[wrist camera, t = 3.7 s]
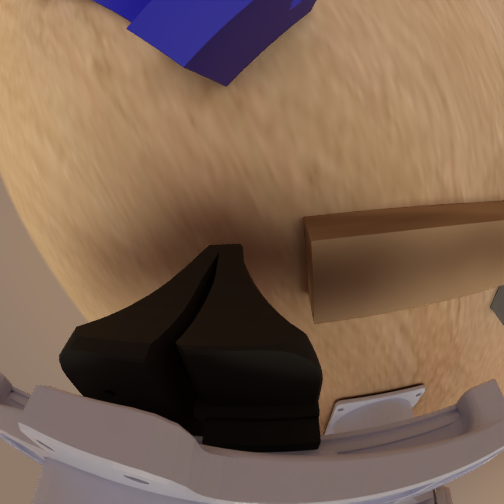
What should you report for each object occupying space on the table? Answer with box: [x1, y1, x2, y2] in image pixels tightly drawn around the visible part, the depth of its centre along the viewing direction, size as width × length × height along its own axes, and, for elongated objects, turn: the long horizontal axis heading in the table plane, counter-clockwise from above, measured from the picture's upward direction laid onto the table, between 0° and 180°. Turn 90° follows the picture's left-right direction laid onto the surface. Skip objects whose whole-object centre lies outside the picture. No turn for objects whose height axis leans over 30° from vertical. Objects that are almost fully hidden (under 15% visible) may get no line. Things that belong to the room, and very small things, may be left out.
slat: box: [304, 201, 504, 324], centre depth 11 cm, size 4×12×2 cm, turn 99°
